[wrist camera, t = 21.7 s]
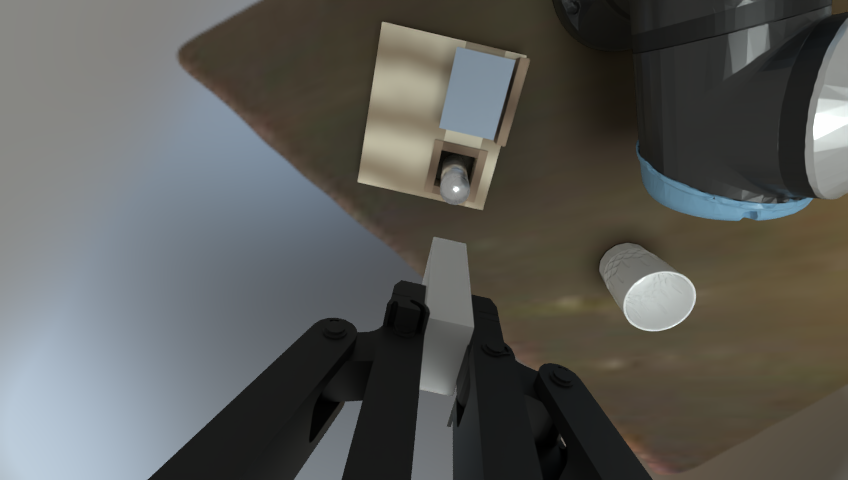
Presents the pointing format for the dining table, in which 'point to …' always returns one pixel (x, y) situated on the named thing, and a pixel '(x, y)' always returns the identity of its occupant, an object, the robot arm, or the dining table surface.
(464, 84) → the block
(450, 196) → the pin
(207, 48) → the dining table surface
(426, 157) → the base plate
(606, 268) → the white cup
